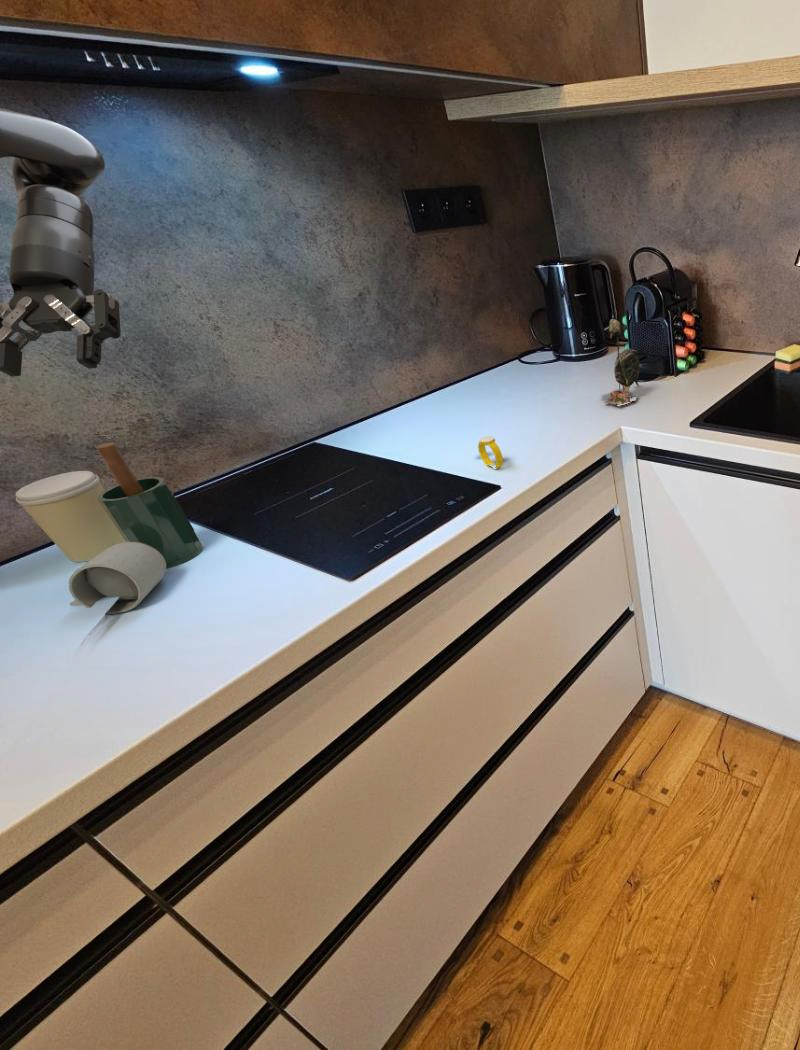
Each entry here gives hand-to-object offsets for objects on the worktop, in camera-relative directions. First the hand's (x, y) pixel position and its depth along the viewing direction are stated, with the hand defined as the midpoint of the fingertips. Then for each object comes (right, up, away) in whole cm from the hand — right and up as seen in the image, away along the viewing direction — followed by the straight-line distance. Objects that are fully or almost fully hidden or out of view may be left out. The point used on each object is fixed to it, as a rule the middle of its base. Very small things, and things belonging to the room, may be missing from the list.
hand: (48, 369), depth 75 cm
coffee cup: (-14, -24, +20) cm, 34 cm away
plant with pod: (+65, +10, +68) cm, 95 cm away
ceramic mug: (+3, -31, +7) cm, 32 cm away
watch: (+43, -9, +39) cm, 59 cm away
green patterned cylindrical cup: (+1, -25, +17) cm, 30 cm away
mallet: (+1, -24, +17) cm, 29 cm away
